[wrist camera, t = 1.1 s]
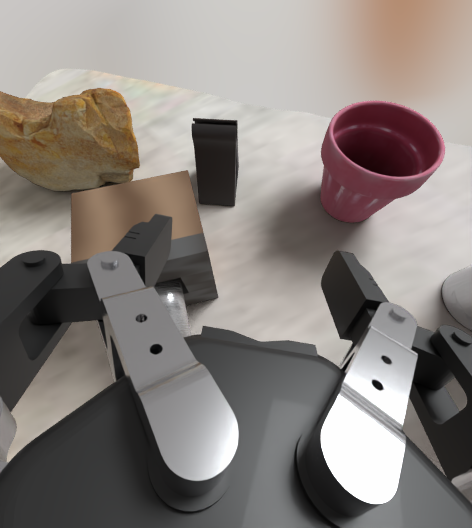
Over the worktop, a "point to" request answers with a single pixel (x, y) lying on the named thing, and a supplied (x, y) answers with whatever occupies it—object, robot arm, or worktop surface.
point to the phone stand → (216, 160)
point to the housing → (142, 210)
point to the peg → (174, 303)
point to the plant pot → (376, 158)
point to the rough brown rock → (69, 140)
